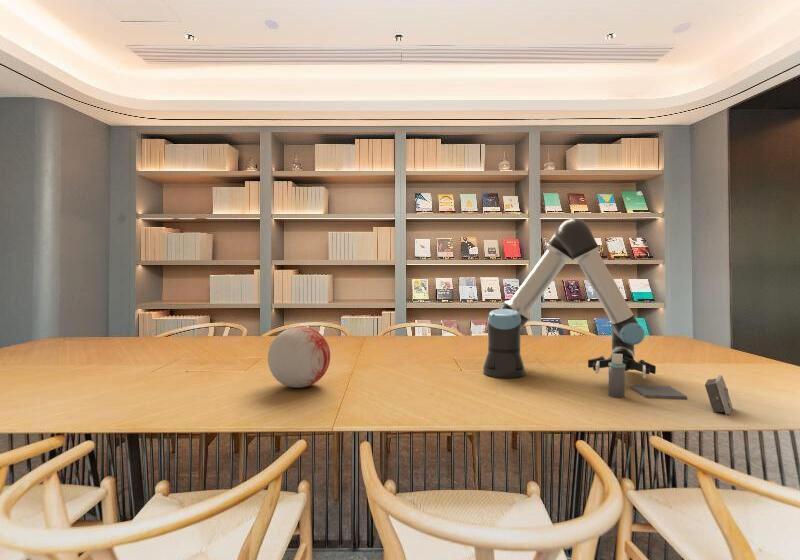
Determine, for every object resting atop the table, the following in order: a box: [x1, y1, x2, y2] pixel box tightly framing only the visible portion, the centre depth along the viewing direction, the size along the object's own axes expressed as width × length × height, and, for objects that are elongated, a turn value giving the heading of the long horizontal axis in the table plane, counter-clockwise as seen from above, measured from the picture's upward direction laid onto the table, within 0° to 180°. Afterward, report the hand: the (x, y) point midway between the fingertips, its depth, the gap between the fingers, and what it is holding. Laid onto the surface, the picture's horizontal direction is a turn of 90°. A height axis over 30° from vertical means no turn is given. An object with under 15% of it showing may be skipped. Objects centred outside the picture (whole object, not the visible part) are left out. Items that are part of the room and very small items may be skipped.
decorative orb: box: [267, 326, 331, 389], centre depth 156 cm, size 21×20×20 cm
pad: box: [630, 384, 688, 400], centre depth 149 cm, size 12×12×1 cm
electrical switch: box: [704, 374, 733, 416], centre depth 132 cm, size 9×5×9 cm, turn 141°
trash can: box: [607, 352, 626, 399], centre depth 146 cm, size 5×5×13 cm
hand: (620, 371), depth 149 cm, fingers open, 13 cm apart
